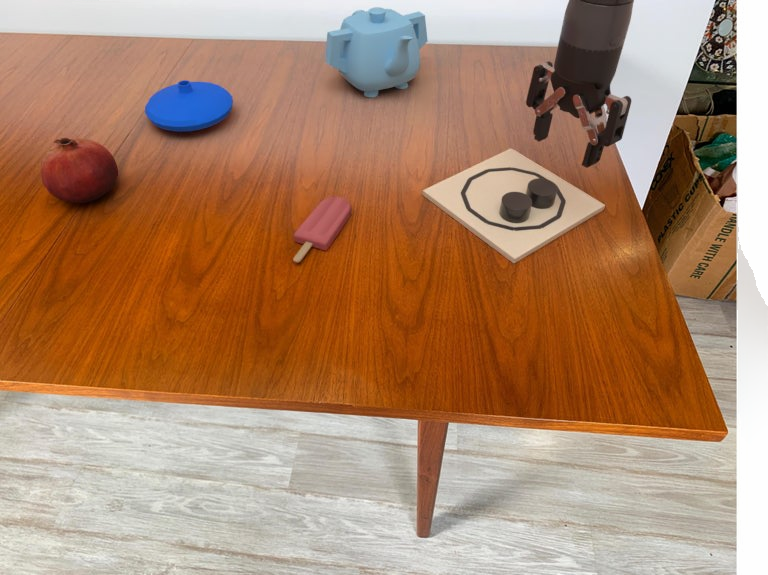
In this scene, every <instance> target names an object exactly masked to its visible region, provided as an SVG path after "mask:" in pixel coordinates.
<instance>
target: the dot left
mask: <svg viewBox="0 0 768 575" xmlns="http://www.w3.org/2000/svg"><path fill="white" fill-rule="evenodd" d="M531 207H532V200H531V198H530V197H529V196H528V195H526V194H524V193H521V192H509V193H506V194H505V195H503V197H502V200H501V205H500V211H499V214H500V216H501V217H502V218H503V219H504V220H505V221H508V222H511V223H522V222H525V221H526V220H528V218H529V216H530V211H531Z"/></svg>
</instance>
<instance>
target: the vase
mask: <svg viewBox="0 0 768 575" xmlns="http://www.w3.org/2000/svg"><path fill="white" fill-rule="evenodd" d="M233 104H234V100H233V96H232V94H231V93H230V92H229V91H228V90H227V89H225V87H223V86H221V85H219V84H216V83H213V82H207V81H190V80H187V79H183V80H180V81H178V82H177V83H176V84H172V85H168V86H166V87H164V88H161V89H160V90H158V91H156V92H155V93H153V94H152V95H151V96H150V97H149V99H148V101H147V102H146V104H145V107H144V114H145V115H146V117H147V118H148V120H149V121H150V122H151V124H152V125H154V126H155V127H156V128H160V129H162V130H165V131H171V132H194V131H199V130H203V129H207V128H209V127H212V126H214V125H216V124H219V123H221V122H222V121H223V120H225V119H226V118H227V117H228V116H229V115H230V113H231V111H232V109H233Z"/></svg>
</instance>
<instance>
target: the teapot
mask: <svg viewBox="0 0 768 575" xmlns="http://www.w3.org/2000/svg"><path fill="white" fill-rule="evenodd" d="M428 42H429V41H428V32H427V22H426V15H425V14H423V13H422V12H421V11H416V12H411V13H407V14H404V15H402V14H401V13H400V12H398V11H396V10H394V9H392V8H384V7H379V6H376V7H371V8H369V9H368V11H367V10H366V11H365V10H362V9H357V10H356V11H354V12H353V13H352V14H351V15H349V16H347V17H344V18H343V19H342V23H341V26H340V28H339V29H337V30H335V29H334V30H330V31H327V32H326V44H325V54H324V55H325V56H324V62H325V63H326V64H327V65H328V66H329V67H332V68H334V69H336V70H338V71H339V73H340V74H341V76H342V77H343V78H344V79H345V80H346V82H348V83H349V84H350V85H352V86H353V87H354V88H356V89H358V90H360V91H362V92H363V96H364V97H367V98H377V97H378V96H379V91H381V90H385V89H390V88H394V87H395V88H396V89H398V90H405V89H407V88H408V87H409V84H408V82H410V81H412V80H413V79H415V78H416V76H417V75H418V73H419V70H420V68H421V54H420V50H421V49H422V48H423V47H424V46H425V45H426V44H427V43H428Z"/></svg>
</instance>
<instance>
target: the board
mask: <svg viewBox="0 0 768 575" xmlns="http://www.w3.org/2000/svg"><path fill="white" fill-rule="evenodd" d="M538 178H542V179H547V180H550V181H552V182H554V183H555V184H556V185H557V188H558V191H557V194H556V198H555V202H554V204H553V206H551V207H550V208H547V209H538V208H534V207H531V211H530V216H529V218H528V220H526V221H525V222H522V223H511V222H508V221H505V220H504V219H503V218H502V217H501V216H500V214H499V211H500V205H501V200H502V197H503V195H505V194H506V193H509V192H521V193H524V194H526V191H527V186H528V183H529V182H530V181H531V180H533V179H538ZM422 196H423V197H424V198H425V199H427V200H428V201H429V202H431V203H432V204H434V205H435V206H436V207H437V208H439V209H440V210H441V211H442V212H444V213H445V214H447V215H448V216H450V218H452V219H454V221H456V222H457V223H459V224H460V225H461V226H463V227H464V228H466V229H467V230H468V231H469V232H471V233H472V234H473V235H475V236H476V237H477V238H479V239H480V240H481V241H483V242H484V243H485V244H487V245H488V246H490V247H491V248H492V249H493V250H495V251H496V252H497V253H498V254H500V255H502V256H503V257H504V258H505V259H507V260H508V261H509V262H511V263H512V264H516V263H518V262H519V261H521V260H523V259H524V258H527V257H528V256H529V255H531V254H533V253H535V252H536V251H538V250H539V249H541V248H543V247H545V246H546V245H548V244H549V243H551V242H553V241H555V240H556V239H558V238H559V237H561V236H563V235H564V234H566V233H568V232H570V231H571V230H573V229H574V228H576V227H577V226H580V225H581V224H583V223H584V222H586V221H588V220H589V219H591V218H593V217H595V216H597V215H599V213H601V212H603V211H604V210H605V207H606V204H604V203H603V202H601V201H599V200H598V199H596V198H595V197H593V196H591V195H589V194H588V193H586V192H585V191H584V190H582V189H580V188H578V187H576V186H575V185H573V184H571V182H569V181H566V180H565V179H563V178H561V177H560V176H558V175H556V174H555V173H553V172H552V171H550V170H548V169H547V168H545V167H543V166H542V165H540V164H538V163H536V162H535V161H533V160H532V159H530V158H528V157H527V156H525V155H523V154H522V153H520V152H518V150H515V149H513V148H512V147H510V148H508V149H506V150H504V151H502V152H499V153H498V154H496V155H494V156H491V157H489V158H487V159H485V160H483V161H481V162H479V163H476V164H474V165H472V166H470V167H468V168H466V169H464V170H462V171H460V172H458V173H456V174H453V175H452V176H450V177H448V178H445V179H444V180H441V181H439V182H437V183H434V184H433V185H430V186H429V187H427V188H424V189H423V190H422Z"/></svg>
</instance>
